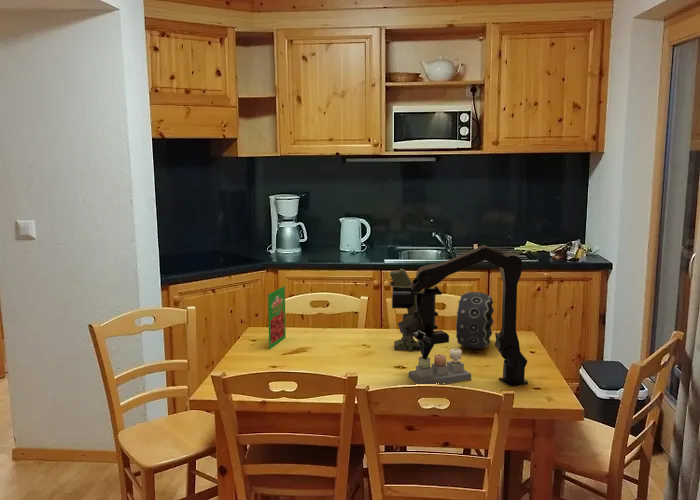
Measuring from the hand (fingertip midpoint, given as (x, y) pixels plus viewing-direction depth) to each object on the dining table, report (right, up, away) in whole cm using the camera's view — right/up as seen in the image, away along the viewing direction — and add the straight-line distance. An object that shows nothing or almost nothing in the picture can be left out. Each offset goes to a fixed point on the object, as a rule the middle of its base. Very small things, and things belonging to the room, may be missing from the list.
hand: (424, 358), depth 198 cm
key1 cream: (+10, -3, +5) cm, 12 cm away
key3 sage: (0, -5, +1) cm, 5 cm away
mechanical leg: (-3, -2, +33) cm, 33 cm away
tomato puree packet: (-49, -1, +39) cm, 63 cm away
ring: (+22, -2, +35) cm, 41 cm away
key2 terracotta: (+5, -5, +3) cm, 7 cm away
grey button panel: (+5, -7, +3) cm, 9 cm away
